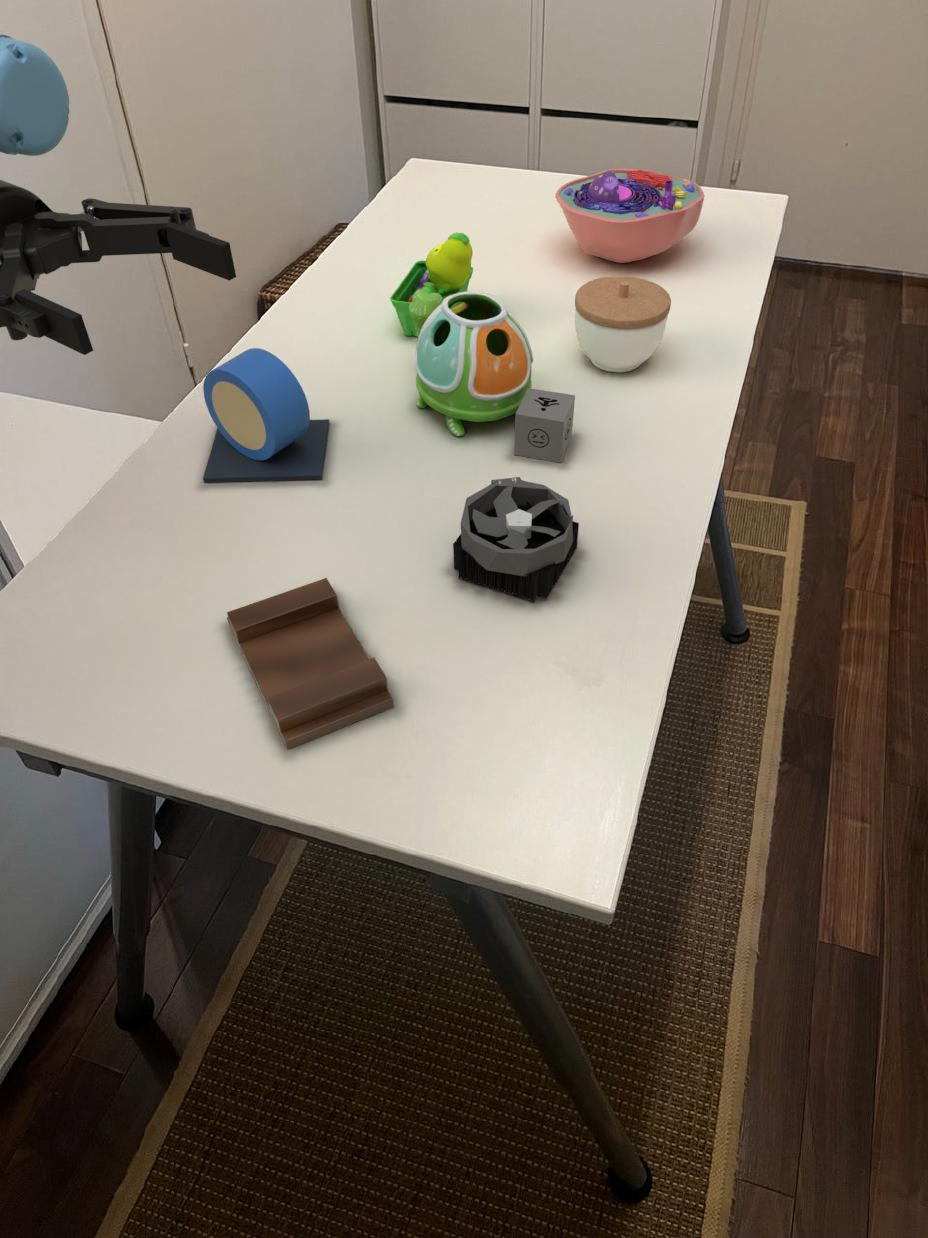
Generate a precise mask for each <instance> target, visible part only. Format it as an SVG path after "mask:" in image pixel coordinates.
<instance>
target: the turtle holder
mask: <svg viewBox="0 0 928 1238" xmlns="http://www.w3.org/2000/svg"><path fill="white" fill-rule="evenodd" d="M457 302H463V303H462V304H460V305H459V306H457V307H455V308H452V309H449V308H450V307H451V306H452V305H454V304H455V303H457ZM409 313H410V316H411V318H412V320H413V322H414V324H415V327H416V330H417V335H418V337H417V341H416V345H415V350H414V367H415V371H416V377H415V384H416V385H415V386H416V389H417V392H418V394H419V395H418V397H417V400H416V407H417V408H418V409H425V408H426V407H427V406H429V407H430V408H431V409H433V410H435V411H436V412H438V413H440V414H443V415H445V423H446V426H447V429H448V431H449V432H450V433H451V434H452V436H453V435H454V436H455V437H462V436H464V435H465V433H466V432H465V428H464V425H463V423H462V420H463V421H468V422H476V423H477V422H478V423H480V422H481V423H482V422H484V423H485V422H493V421H498V420H500V419H504V418H506V417H509V416H512V415H514V414H516V412H517V410H518V408H519V406H520V404H521V402H522V400H523V398H524V395H525V393H526V391H527V389H528V388H532V389H533V383H532V370H533V369H532V364H533V362H534V355H533V350H532V346H531V344H530V341H529V338H528V336H527V334H526V332H525V329H524V328H523V326H522V325H521V324H520V322H519V320H517V319H516V318H515V316H513V315H512V314H511V313H510V311H508V309H507V307H506V306H505V304H504V303H503V302H502V301H501V300H500V299H499V298H497V297H495V296H493V295H492V294H490V293H488V292H484V291H480V290H467V291H466V292H460V293H456V294H453V295H450V296H448V297H446V298H445V299H444V300H443V298H442V296H441V295H440V294H438V293H431V294H429V293H428V292H426V291H423V290H418V291H416V292H415V293H414V295H413V299H412V303H411V304H410V305H409Z"/></svg>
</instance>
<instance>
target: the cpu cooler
mask: <svg viewBox="0 0 928 1238" xmlns="http://www.w3.org/2000/svg"><path fill="white" fill-rule="evenodd" d="M490 481H491V483H490V484H489V485H486V486H485V487H484V488H482V489H480V490H478V491H477V492H475V493H473V494H471V495H469V496H467V497H466V499H465V503H464V507H463V511H462V515H461V520H460V533H459V536H457V538H456V539H455V541H454V542H453V544H452V550H453V551H452V552H453V569H454V570H455V571H458V572H457V575H458V579H459V580H462V581H467V582H468V583H473V584H475V585H478V586H481V587H484V588H488V589H490V590H494V591H497V592H501V593H504V594H506V595H509V596H512V597H516V598H518V599H521V600H522V599H524V600H526V601H528V602H532V603H535V602H536V599H537V597H541V598H544V599H546V600H547V599H548V598H549V596H550V595H551V593H552V591H553V590H554V588H555V586H556V584H557V583H558V582H559V581H558V580H559V579H560V577H561V576H562V574H563V572H564V570H565V568H566V567H567V566H568V563H569V562H570V561H571V558H572V557H573V555H574V554H575V552H576V550H577V548H578V538H579V527H580V522H577V521H574V520H573V519H574V515H573V514H572V510H571V505H570V502H569V499H567V498H566V497H564V496H563V495H562V494H559V493H558V492H556V491H554V490H553V489H552V488H550V487H548V486H547V485H545V484H542V483H537V482H531V481H526V480H524V479H522V478H521V476H515V477H507V478H498V479H491V480H490Z"/></svg>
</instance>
